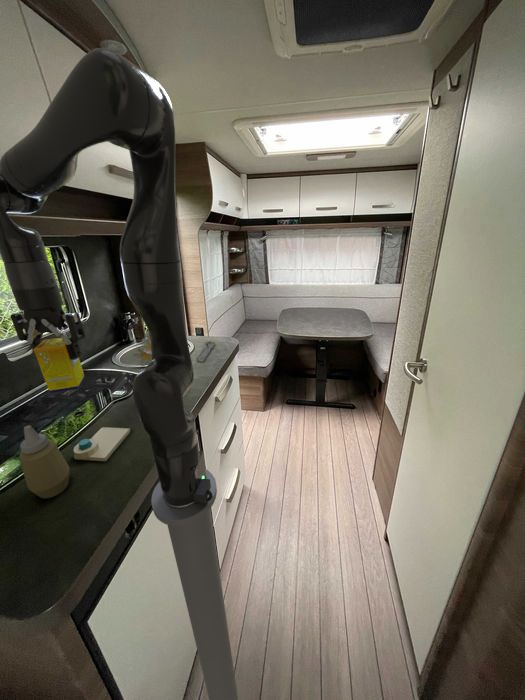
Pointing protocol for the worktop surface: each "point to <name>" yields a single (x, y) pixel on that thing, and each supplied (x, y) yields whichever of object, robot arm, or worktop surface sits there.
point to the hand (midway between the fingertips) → (59, 357)
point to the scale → (102, 444)
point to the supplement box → (58, 366)
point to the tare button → (84, 444)
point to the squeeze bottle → (43, 465)
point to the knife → (206, 352)
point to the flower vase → (143, 354)
